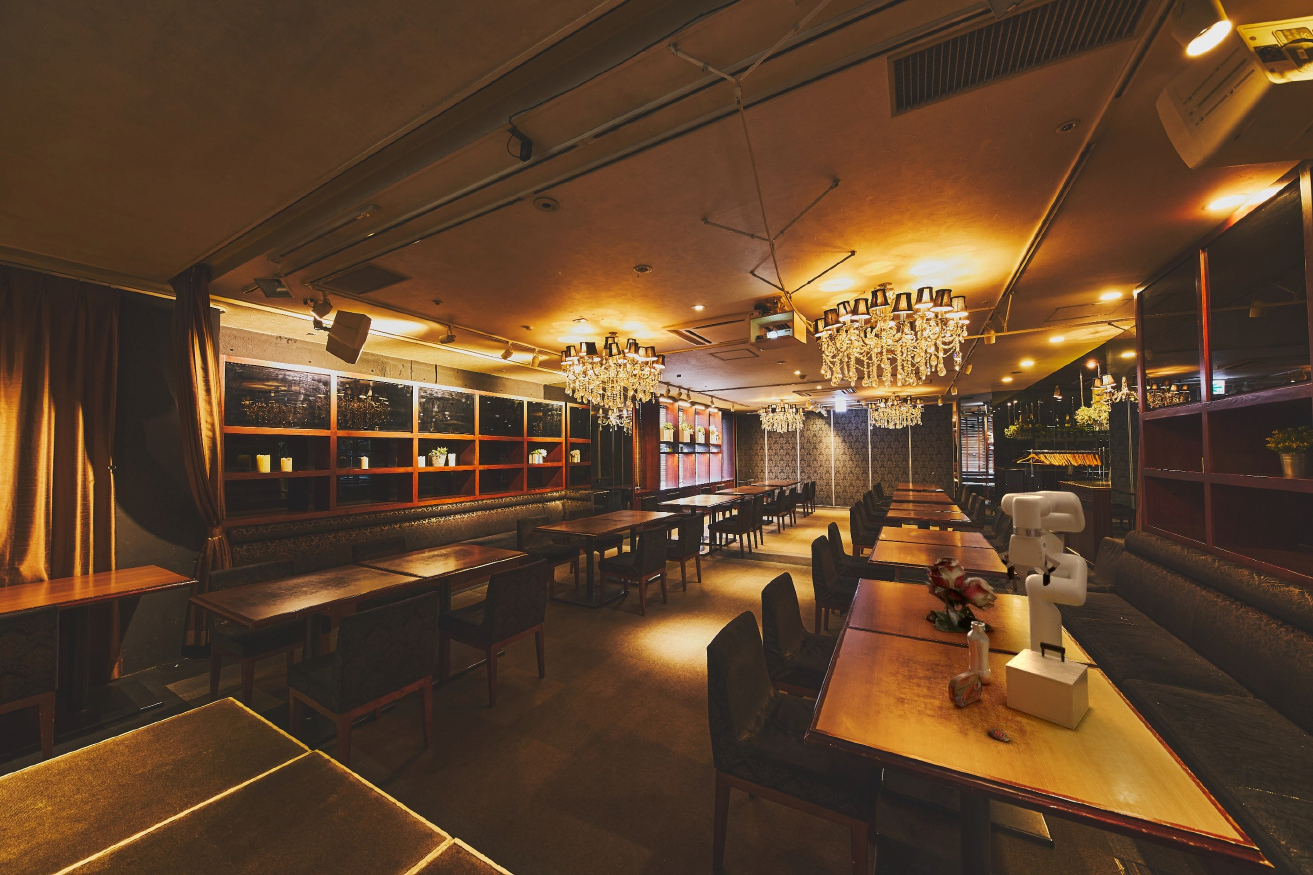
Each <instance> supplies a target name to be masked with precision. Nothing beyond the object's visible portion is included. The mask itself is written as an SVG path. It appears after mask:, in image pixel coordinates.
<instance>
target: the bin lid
mask: <svg viewBox="0 0 1313 875" xmlns="http://www.w3.org/2000/svg"><path fill="white" fill-rule="evenodd" d="M1040 648H1041V653H1039V652H1035V651H1031V650H1028V649H1029V648H1028V649H1027V648H1024V649H1023V650H1021V651H1020V652H1019V653H1018V654H1017V655H1015V656H1014V657H1013V658H1011V660H1009V661H1008V662H1007V663H1005V669H1006V668H1010V669H1013V670H1016V671H1020V672H1023V673H1026V674H1030V675H1033V676H1036V677H1039V678H1043V679H1046V680H1049V681H1053V682H1056V683H1059V684H1062V685H1066V686H1069V687H1073V686H1074V685H1075V684H1076V682H1077V681H1078V680H1079V679H1080V677H1081V676H1082V675H1083V674H1084V673H1085V671H1086V670H1087V671H1088V669H1089V665H1086V664H1083V663H1079V662H1076V661H1072V660H1069V659H1068V660H1065V657H1066V656H1065V655H1066V647H1064V646H1063V647H1061V646H1057V645H1053V644H1049V643H1045V642H1040ZM1045 649H1047V650H1051V651H1054V652H1058V653H1061V658H1057V657H1054V656H1050V655H1046V654H1045ZM1064 656H1065V657H1064Z"/></svg>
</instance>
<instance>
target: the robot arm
mask: <svg viewBox="0 0 1313 875" xmlns="http://www.w3.org/2000/svg"><path fill="white" fill-rule="evenodd" d="M1000 505H1001V509H1002V511H1003V513H1005V514H1006V515H1009V516H1010V515H1011V516H1012V526H1013V527H1012V532H1013V534H1011V535H1010V540H1009V545H1008V546H1009V547H1008V550H1007V551H1003V552H1001V553H1000V552H999V553H998V554H997V557H998V558H999V560H1000V562H1001V564H1003V565H1004V566H1005V568H1006V574H1007V575H1006V576H1007V578H1008V580H1009V581H1013V580H1014V579H1015V568H1014V566H1015V565H1019V566H1025V567H1031V568H1033V570H1034V571H1035V573H1037V574H1030V575H1028V576H1027V577H1026V578H1025V583H1024V585H1025V590H1026V595H1027V599H1028V613H1029V614H1028V616H1029V642H1030V644H1029V646H1030V648H1028V650H1031V651H1035V652H1039V653H1041V648H1040V642H1045V643H1049V644H1053V645H1057V646H1061V647H1064V646H1063V645H1064V644H1063V623H1062V622H1063V621H1062V614H1061V611H1060V610H1059V609H1058V607H1057V605H1055V604H1059V605H1060V604H1061V605H1065V606H1066V605H1067V606H1070V607H1071V606H1072V607H1082V606H1083V605H1085V604H1086V599H1087V590H1088V589H1087V588H1088V564H1087V562H1086V560H1085V558H1084V557H1082V556H1081V555H1078V554H1071V553H1064V544H1063V542H1062V541H1061V539H1060V538H1058V536H1056V535H1055V534H1054V533H1053V532H1051V531H1055V532H1066V533H1081V532H1083V531H1084V529H1085V527H1086V520H1085V519H1086V518H1085V515H1084V510H1083V507H1082V502H1081V500H1080V498H1079V497H1078V495H1076V494H1075V493H1074V492H1070V491H1054V490H1052V491H1051V490H1040V491H1036V492H1034V491H1033V492H1032V491H1031V492H1018V493H1017V492H1016V493H1015V492H1014V493H1006V494H1005V495H1004V496H1003V497H1002V499H1001V504H1000ZM1006 556H1008V560H1007V559H1006V558H1005V557H1006ZM1054 603H1055V604H1054ZM1045 654H1046V655H1050V656H1054V657H1057V658H1061V653H1058V652H1054V651H1051V650H1047V649H1045ZM1064 657H1065V660H1068V661H1069V658H1067V656H1065V655H1064Z"/></svg>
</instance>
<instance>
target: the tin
mask: <svg viewBox="0 0 1313 875" xmlns="http://www.w3.org/2000/svg"><path fill="white" fill-rule="evenodd" d="M947 686H948V687H947V689H948V690H947V692H948V699H949V701H950V702H951V703H953V704H954V705H957V706H959V707H961V708H964V707H967V706H968V705H970V704H972V703H975V702H977V701H979V699H980V698H981V696H982V695H983V694H982V693H983V687H984V686H983V684H982V680H981V677H980V676H979V675H978V674H977V673H973V672H969V671H968V670H967V671H964V672H962V673H960V674H957V675H955V676H953V677H951V679H950V680H949V682H948V685H947Z"/></svg>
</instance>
